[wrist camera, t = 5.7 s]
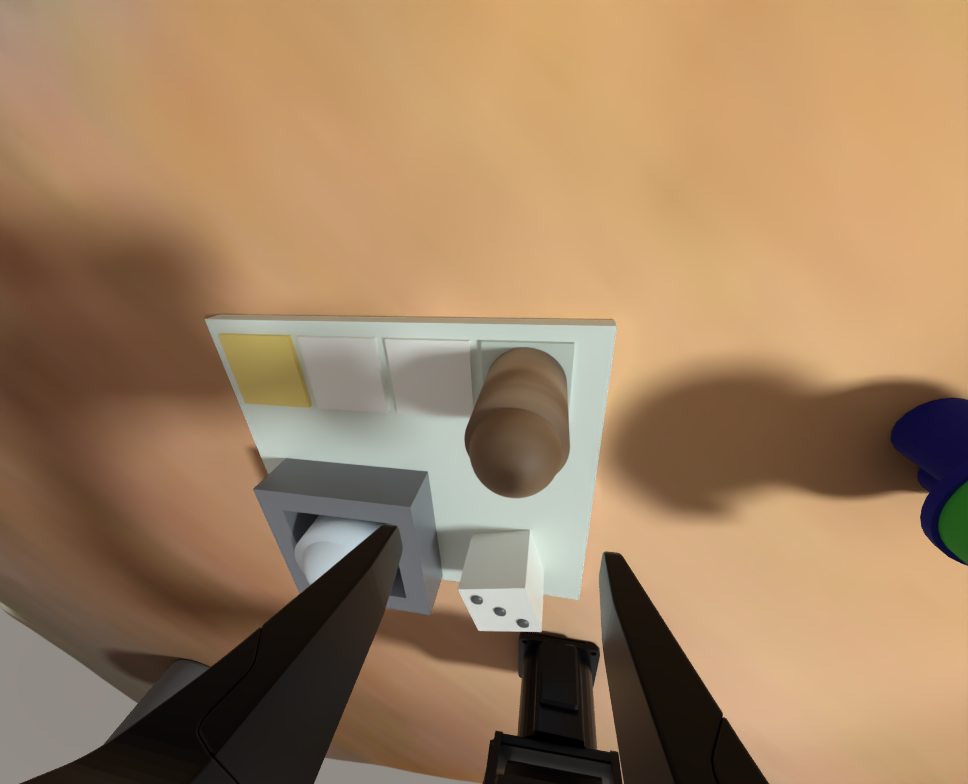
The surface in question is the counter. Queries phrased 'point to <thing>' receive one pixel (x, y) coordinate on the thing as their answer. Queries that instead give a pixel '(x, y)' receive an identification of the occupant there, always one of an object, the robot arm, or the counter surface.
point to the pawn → (520, 424)
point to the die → (503, 582)
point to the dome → (330, 543)
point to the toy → (940, 469)
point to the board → (423, 413)
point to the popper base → (358, 517)
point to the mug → (163, 691)
